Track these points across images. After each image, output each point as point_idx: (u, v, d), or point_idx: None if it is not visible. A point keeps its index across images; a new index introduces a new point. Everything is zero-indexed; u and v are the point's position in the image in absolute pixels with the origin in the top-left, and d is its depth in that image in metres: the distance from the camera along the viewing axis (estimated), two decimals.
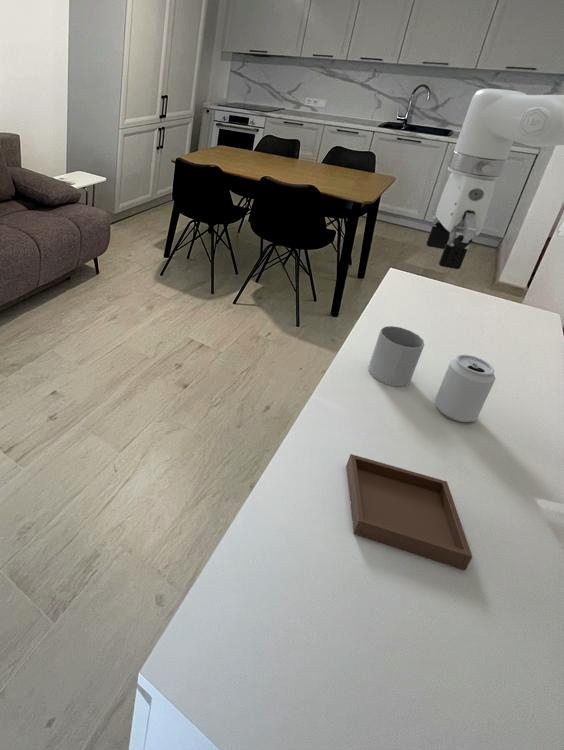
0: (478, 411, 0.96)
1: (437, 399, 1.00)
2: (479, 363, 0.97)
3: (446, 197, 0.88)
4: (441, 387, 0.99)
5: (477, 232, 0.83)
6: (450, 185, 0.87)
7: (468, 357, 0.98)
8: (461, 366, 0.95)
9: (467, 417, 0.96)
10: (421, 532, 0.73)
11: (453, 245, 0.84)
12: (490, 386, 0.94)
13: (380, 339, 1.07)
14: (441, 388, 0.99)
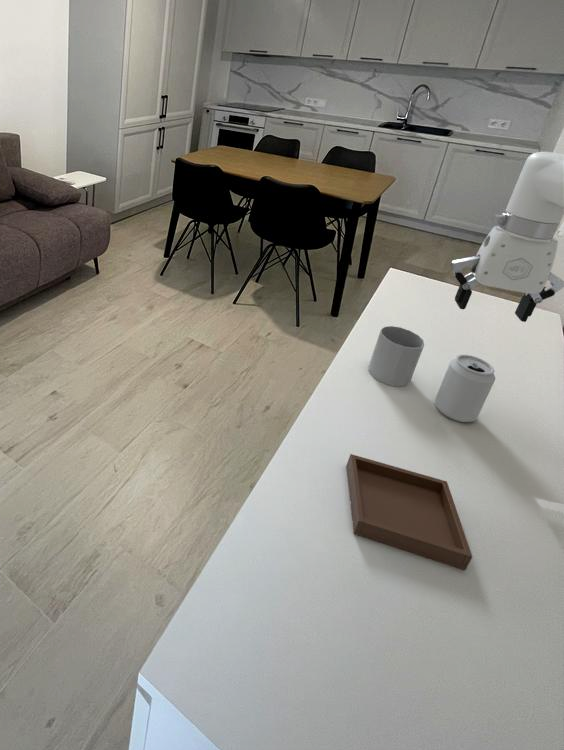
0: (478, 411, 0.96)
1: (437, 399, 1.00)
2: (479, 363, 0.97)
3: None
4: (441, 387, 0.99)
5: (476, 277, 0.88)
6: None
7: (468, 357, 0.98)
8: (461, 366, 0.95)
9: (467, 417, 0.96)
10: (421, 532, 0.73)
11: None
12: (490, 386, 0.94)
13: (380, 339, 1.07)
14: (441, 388, 0.99)
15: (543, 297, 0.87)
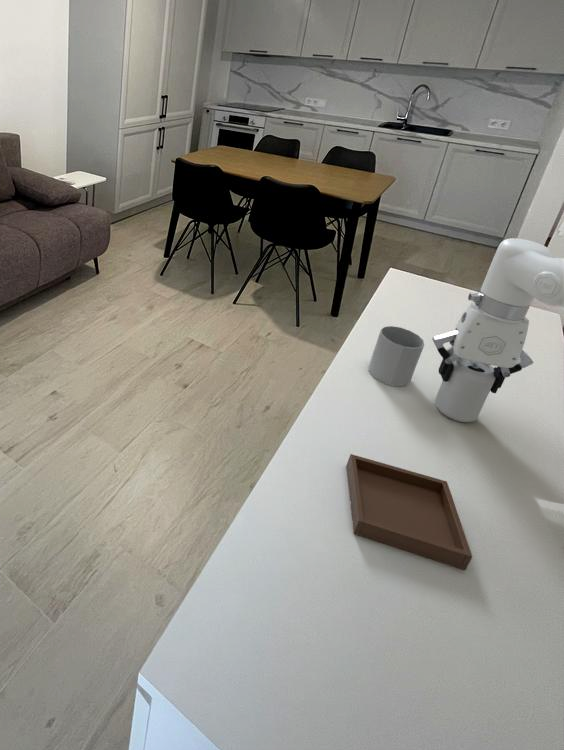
0: (478, 411, 0.96)
1: (437, 399, 1.00)
2: (479, 363, 0.97)
3: None
4: (441, 387, 0.99)
5: (454, 350, 0.94)
6: None
7: None
8: (461, 366, 0.95)
9: (467, 417, 0.96)
10: (421, 532, 0.73)
11: None
12: (490, 386, 0.94)
13: (380, 339, 1.07)
14: (441, 388, 0.99)
15: (511, 371, 0.93)
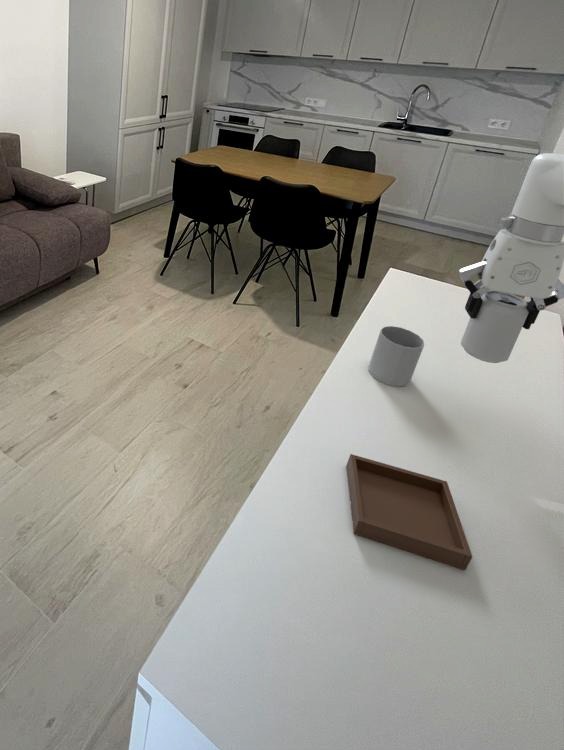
0: (510, 350, 0.88)
1: (464, 340, 0.92)
2: (510, 298, 0.89)
3: None
4: (468, 326, 0.92)
5: (483, 282, 0.86)
6: None
7: (497, 292, 0.90)
8: (490, 300, 0.87)
9: (498, 356, 0.88)
10: (421, 532, 0.73)
11: None
12: (523, 320, 0.86)
13: (380, 339, 1.07)
14: (468, 327, 0.92)
15: (546, 304, 0.85)
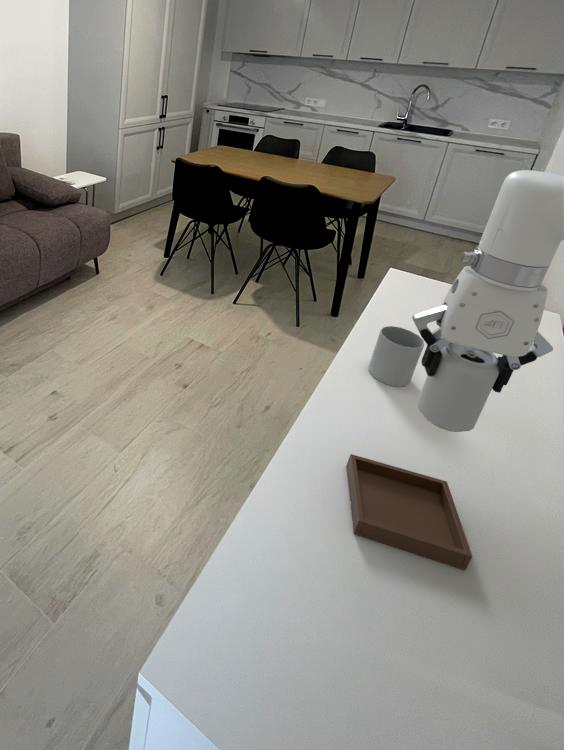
0: (476, 417, 0.69)
1: (420, 400, 0.74)
2: (477, 351, 0.70)
3: None
4: (425, 384, 0.73)
5: (442, 333, 0.67)
6: None
7: None
8: (452, 354, 0.69)
9: (461, 425, 0.70)
10: (421, 532, 0.73)
11: None
12: (492, 382, 0.67)
13: (380, 339, 1.07)
14: (425, 385, 0.73)
15: (522, 362, 0.67)
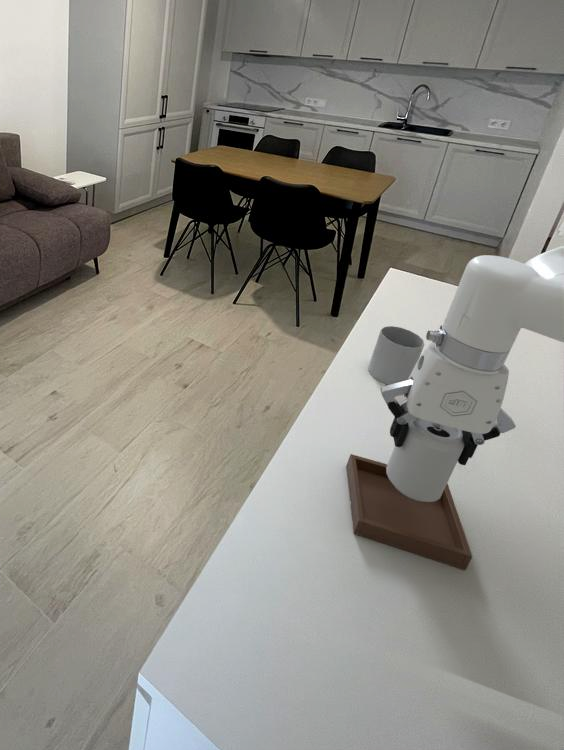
0: (442, 488, 0.71)
1: (389, 468, 0.75)
2: None
3: None
4: (394, 452, 0.74)
5: (408, 408, 0.68)
6: None
7: None
8: (418, 428, 0.70)
9: (427, 496, 0.71)
10: (421, 532, 0.73)
11: None
12: (457, 457, 0.68)
13: (380, 339, 1.07)
14: (394, 454, 0.74)
15: (486, 437, 0.68)
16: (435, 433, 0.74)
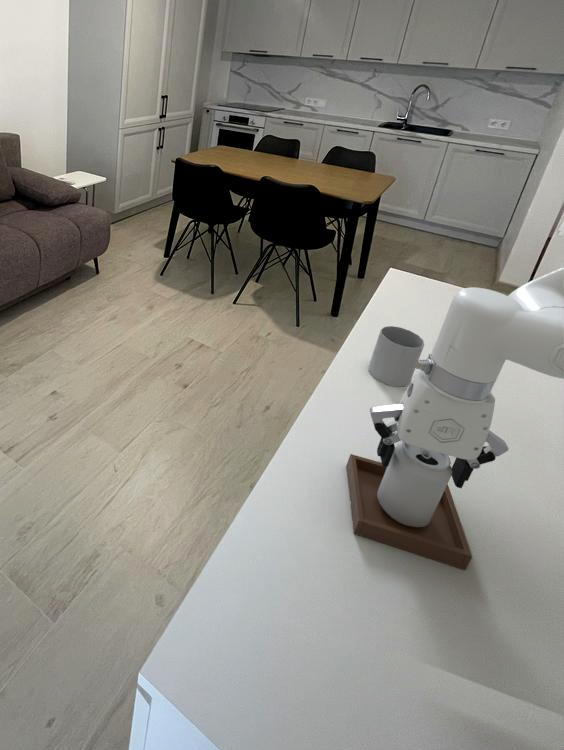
0: (430, 514, 0.73)
1: (380, 493, 0.77)
2: None
3: None
4: (384, 478, 0.76)
5: (398, 434, 0.70)
6: None
7: None
8: (407, 456, 0.72)
9: (416, 521, 0.73)
10: (421, 532, 0.73)
11: None
12: (445, 484, 0.70)
13: (380, 339, 1.07)
14: (384, 479, 0.76)
15: (481, 461, 0.69)
16: (424, 459, 0.76)
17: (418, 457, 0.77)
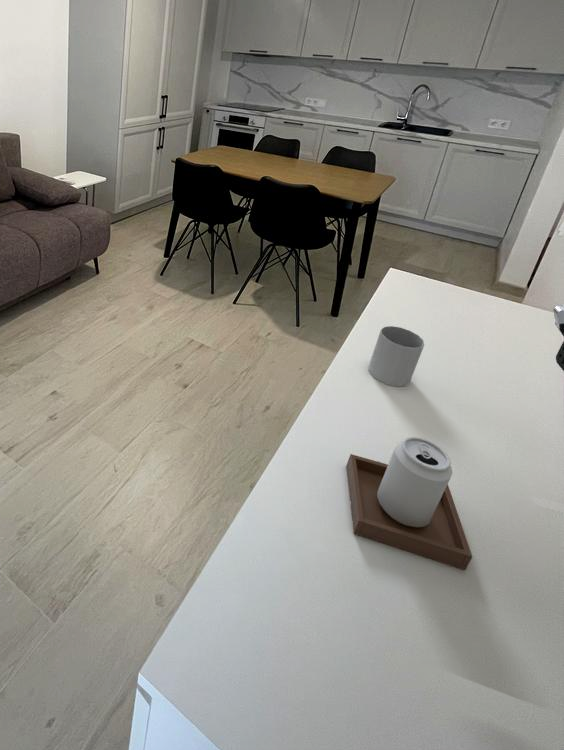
0: (430, 514, 0.73)
1: (380, 493, 0.77)
2: (432, 450, 0.73)
3: None
4: (384, 478, 0.76)
5: None
6: None
7: (419, 440, 0.75)
8: (407, 456, 0.72)
9: (416, 521, 0.73)
10: (421, 532, 0.73)
11: (563, 335, 0.66)
12: (445, 484, 0.70)
13: (380, 339, 1.07)
14: (384, 479, 0.76)
15: None
16: (424, 459, 0.76)
17: (418, 457, 0.77)
